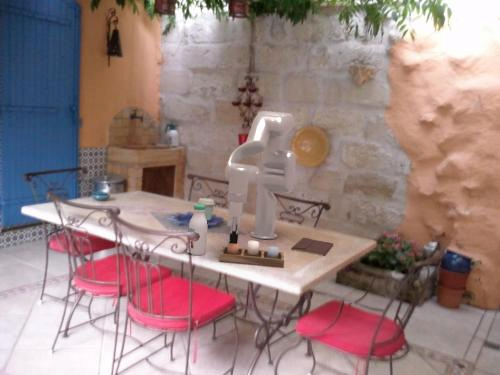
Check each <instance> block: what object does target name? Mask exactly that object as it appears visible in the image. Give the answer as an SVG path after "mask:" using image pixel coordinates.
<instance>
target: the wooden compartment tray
mask: <svg viewBox="0 0 500 375" xmlns="http://www.w3.org/2000/svg"><path fill="white" fill-rule="evenodd" d="M227 250H228V246H223V247H222V249H221V251H220V255H219V262H220V263H226V264H227V263H228V264H239V265H240V264H241V265H249V266H259V267H268V268H269V267H270V268H279V269H284V268H285V266H284V265H285V253H284V252H283V251H279V253H278V259H274V258H267V252H268V250H264V249H263V250H262V249H261V250H260V249H259V251H258V254H256V255H252V254H248V253H247V251H248V248H240V247H239V250H238V255H233V254H227Z"/></svg>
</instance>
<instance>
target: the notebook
mask: <svg viewBox="0 0 500 375" xmlns="http://www.w3.org/2000/svg"><path fill="white" fill-rule="evenodd" d="M331 247H332V248H333V247H334V243H332V242H327V241H323V240H318V239H313V238H309V237H302V238H301V239H299V241H298V242H296V243H295V244H294V245H293V246H292V247H291V249H290V250H291V251H296V252H301V253H305V252H306V253H307V254H312V255H316V254H317V255H318V256H321V255H322V256H323V257H325V256H326V255H328V253H329V251H331V249H332V248H331ZM317 255H316V256H317ZM322 256H321V257H322Z"/></svg>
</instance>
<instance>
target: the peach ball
mask: <svg viewBox="0 0 500 375" xmlns="http://www.w3.org/2000/svg"><path fill="white" fill-rule="evenodd" d="M227 247H228V250H227V254H233V255H238V250H239V248H240V243H239V241H238V242H237V244H232V243H229V241H228V242H227Z"/></svg>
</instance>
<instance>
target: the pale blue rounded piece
mask: <svg viewBox="0 0 500 375" xmlns="http://www.w3.org/2000/svg"><path fill="white" fill-rule="evenodd" d="M279 250H280V248H279V247H278V246H274V245H273V246H272V245H271V246H268V247H267V251H268V252H267V258H274V259H278V253H279V252H280V251H279Z"/></svg>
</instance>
